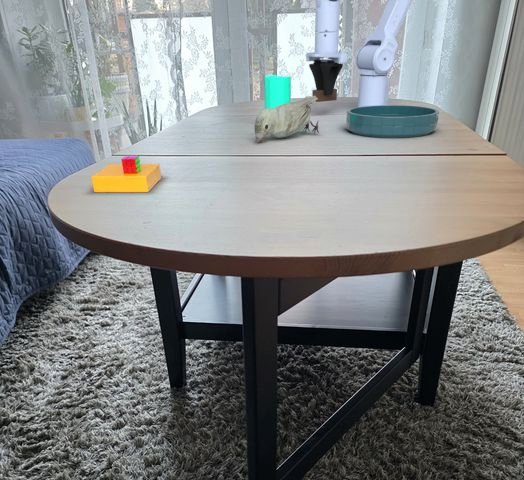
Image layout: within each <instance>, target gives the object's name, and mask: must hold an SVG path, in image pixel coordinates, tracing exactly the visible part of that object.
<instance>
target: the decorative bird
mask: <svg viewBox="0 0 524 480" xmlns="http://www.w3.org/2000/svg"><path fill="white" fill-rule="evenodd" d="M317 99H318V98H316V96H312V95H311V96H307V97H303V98H302V99H299V100H297V101H293V102H292V101H291V103H286V104H282V105H279V106H277V107H275V108H268V109H265V108H264V110H262V111H260V112H259V113H258V115H257V116H256V118H255V122H254V136H255V140H256V143H257V144H259V143H260V142H261V141H262V140H263V139H264V138H265V137H266V136H268V135H271V136H272V137H274V138H277V139H278V138H279V139H280V138H287V137H289V136H292V135H295V134H296V133H298V132H300V131H303V132H305V134H306V133H307V130H308V131H310V125H311V127H313V128H312V130H311V133H313V134H314V135H316V132H317V133H318V134H320V133H319V132H320V131H319V122H320V120H319V119H318V120H317V121H316V124H313V122H312V120H311V115H312V114H311V110H312V106H311V105H313V104H314V103H316V102H315V101H316V100H317Z"/></svg>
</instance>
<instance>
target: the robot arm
mask: <svg viewBox="0 0 524 480" xmlns="http://www.w3.org/2000/svg"><path fill="white" fill-rule="evenodd" d="M413 1H414V0H388V2H387V4H386V6H385V7H384V10H383V12H382V15H381V17H380V19H379V22H378V23H377V26H376V28H375V29H374V31H372V33H370V34H369V35H368V37H367V38H366V39H365V42H364V43H363V45H362V46H361V47H359V49H358V51H357V52H356V55H355V65H356V67H357V69H358V70H359V71H358V75H359V78H358V79H359V80H358V92H357V94H358V95H357V106H356V107H363V106H376V105H389V96H390V86H391V85H390V80H389V78H388V76H389V73H390V70H392V68H393V66H394V64H395V60H396V53H397V50H398V48H399V44H398V41H397V36H398V33H399V31H400V29H401V28H402V25H403V23H404V21H405V18H406V16H407V14H408V12H409V9H410V8H411V6H412V4H413ZM340 8H341V0H315V20H314V21H315V22H314V23H315V25H314V32H315V33H314V52H306V53H305V58H306V59H305V60H306V62H313V63H309V64H308V67H309V70H310V71H311V74H312V76H313V80H314V85H315V90H317V89H324V95H332V94H333V90H334V89H335V86H336V82H337V79H338V77H339V75H340V72H341V71H342V69H343V65H344V64H347V63H348V53H346V52H345V53H343V52H339V35H340V11H341V9H340ZM326 58H327V59H326Z"/></svg>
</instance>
